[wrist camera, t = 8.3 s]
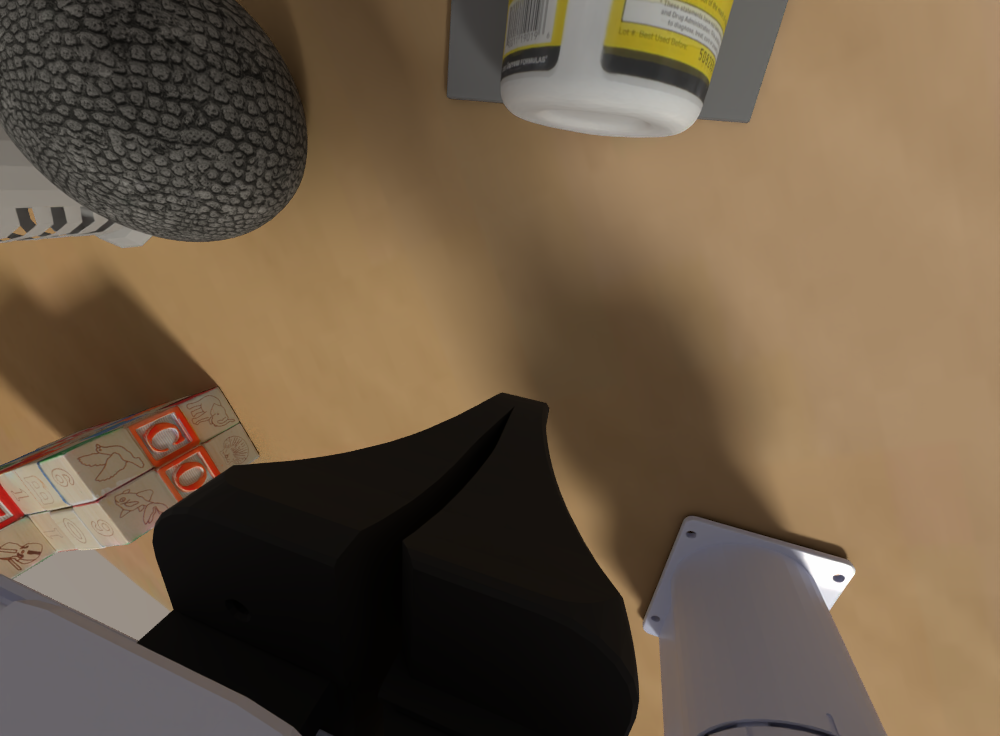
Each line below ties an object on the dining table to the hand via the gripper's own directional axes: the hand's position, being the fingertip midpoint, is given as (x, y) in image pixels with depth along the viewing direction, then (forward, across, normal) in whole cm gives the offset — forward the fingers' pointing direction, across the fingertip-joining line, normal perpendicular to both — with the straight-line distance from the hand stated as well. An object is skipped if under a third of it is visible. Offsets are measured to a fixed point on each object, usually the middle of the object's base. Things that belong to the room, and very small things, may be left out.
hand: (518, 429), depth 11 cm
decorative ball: (+10, +17, -7) cm, 21 cm away
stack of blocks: (+11, +32, +17) cm, 38 cm away
